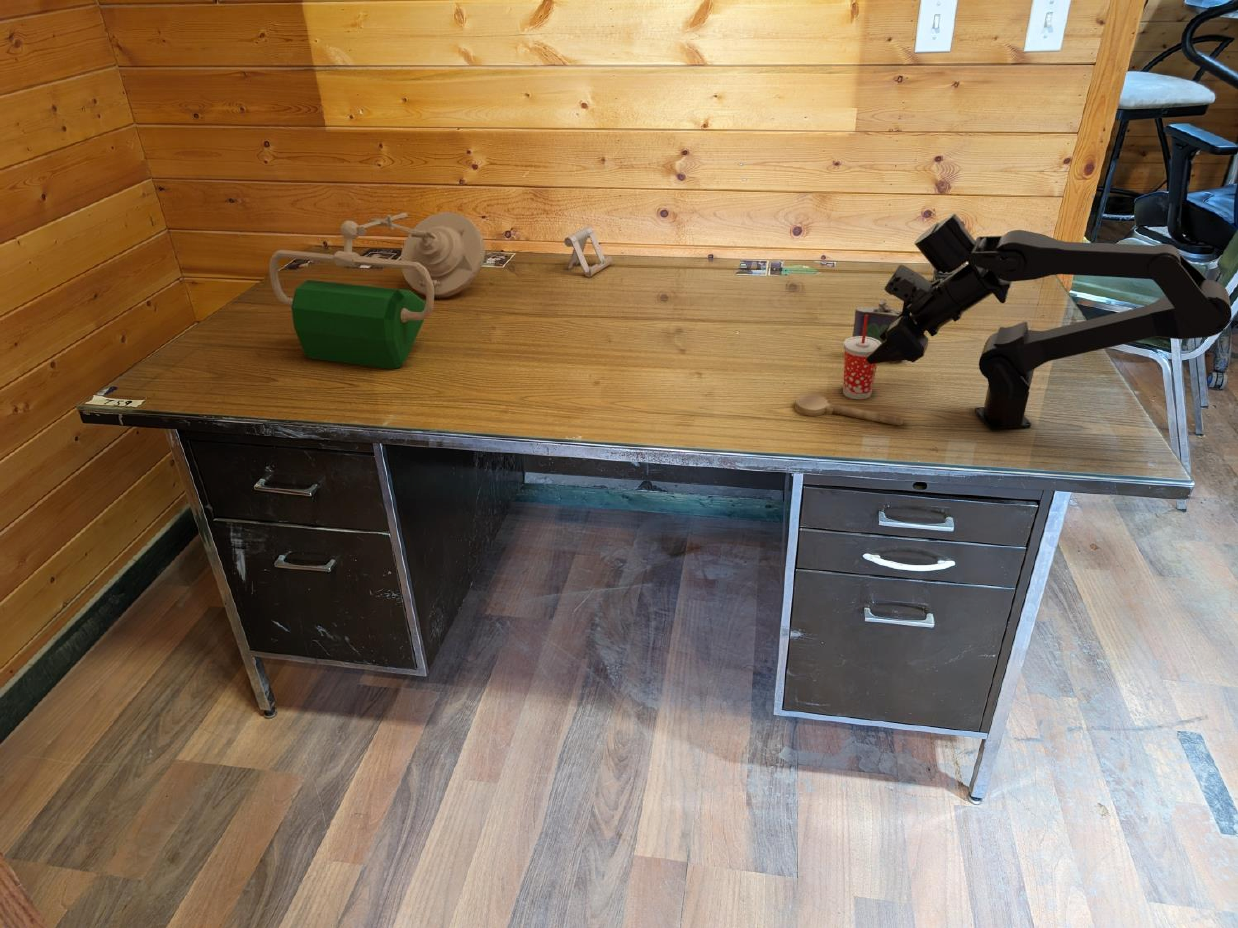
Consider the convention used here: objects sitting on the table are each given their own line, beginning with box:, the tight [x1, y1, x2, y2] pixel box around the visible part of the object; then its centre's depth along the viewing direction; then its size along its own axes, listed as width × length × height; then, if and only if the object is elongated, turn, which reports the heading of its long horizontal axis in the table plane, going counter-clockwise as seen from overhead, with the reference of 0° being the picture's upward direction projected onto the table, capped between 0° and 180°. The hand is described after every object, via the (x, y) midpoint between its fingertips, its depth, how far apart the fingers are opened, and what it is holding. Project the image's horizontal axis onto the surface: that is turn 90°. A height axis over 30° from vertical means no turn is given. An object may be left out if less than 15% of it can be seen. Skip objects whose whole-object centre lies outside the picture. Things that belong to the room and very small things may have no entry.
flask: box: [851, 299, 903, 364], centre depth 158 cm, size 9×3×11 cm, turn 65°
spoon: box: [794, 393, 904, 426], centre depth 144 cm, size 17×5×1 cm, turn 64°
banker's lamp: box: [269, 211, 486, 370], centre depth 178 cm, size 35×42×39 cm
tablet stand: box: [563, 225, 613, 278], centre depth 201 cm, size 9×8×8 cm
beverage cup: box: [842, 315, 881, 400], centre depth 147 cm, size 6×6×14 cm
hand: (874, 349), depth 145 cm, fingers open, 9 cm apart
